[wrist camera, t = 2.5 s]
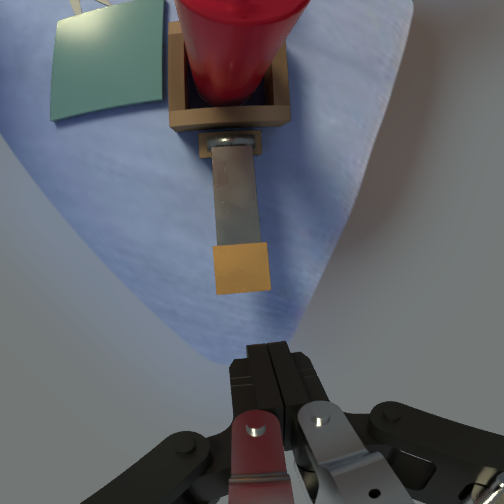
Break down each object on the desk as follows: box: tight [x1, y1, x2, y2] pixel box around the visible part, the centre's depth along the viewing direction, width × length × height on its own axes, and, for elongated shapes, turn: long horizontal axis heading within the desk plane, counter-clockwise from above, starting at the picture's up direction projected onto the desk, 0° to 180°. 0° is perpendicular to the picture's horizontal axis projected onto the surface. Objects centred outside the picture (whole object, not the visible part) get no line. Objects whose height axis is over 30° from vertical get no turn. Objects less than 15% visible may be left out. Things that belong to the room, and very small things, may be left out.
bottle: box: [174, 0, 311, 107], centre depth 14 cm, size 5×5×20 cm
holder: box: [168, 21, 291, 158], centre depth 22 cm, size 9×12×4 cm
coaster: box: [50, 0, 165, 122], centre depth 21 cm, size 11×11×1 cm
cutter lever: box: [207, 134, 271, 295], centre depth 22 cm, size 12×4×2 cm, turn 3°
